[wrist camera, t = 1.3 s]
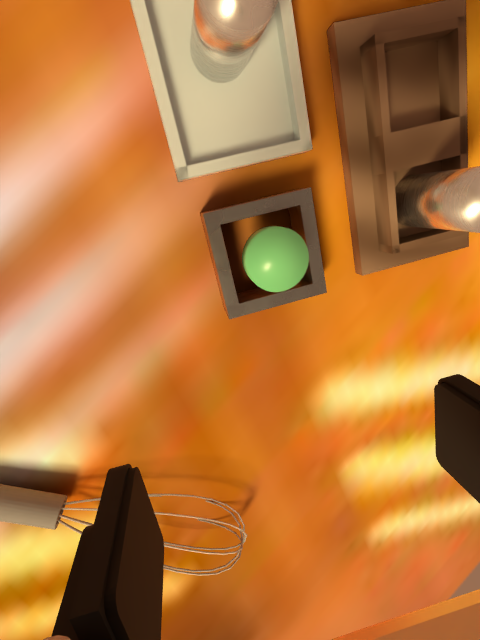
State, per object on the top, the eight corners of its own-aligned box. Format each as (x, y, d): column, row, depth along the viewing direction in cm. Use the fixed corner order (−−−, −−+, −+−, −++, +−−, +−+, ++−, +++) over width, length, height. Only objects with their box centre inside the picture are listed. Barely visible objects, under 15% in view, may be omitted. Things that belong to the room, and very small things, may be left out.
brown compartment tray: (326, 30, 26) (347, 7, 23) (453, 5, 27) (489, -21, 24) (355, 273, 32) (375, 280, 29) (458, 245, 33) (487, 249, 30)
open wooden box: (199, 213, 28) (202, 213, 25) (297, 189, 29) (310, 187, 26) (224, 308, 31) (229, 319, 28) (312, 284, 31) (326, 292, 28)
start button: (230, 231, 27) (239, 235, 23) (285, 218, 28) (303, 219, 24) (243, 286, 29) (253, 299, 25) (295, 272, 29) (313, 282, 25)
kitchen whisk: (-149, 434, 29) (-232, 494, 23) (247, 487, 37) (262, 541, 31) (-152, 496, 30) (-232, 568, 24) (229, 534, 39) (240, 593, 33)
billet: (182, 19, 24) (186, -68, 16) (241, 8, 24) (272, -83, 16) (198, 88, 25) (209, 37, 17) (253, 76, 25) (288, 22, 18)
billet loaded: (388, 181, 29) (465, 172, 21) (433, 169, 29) (525, 156, 21) (392, 231, 30) (465, 240, 22) (436, 220, 30) (523, 224, 23)
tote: (109, -75, 22) (104, -98, 20) (266, -100, 23) (273, -125, 21) (178, 182, 27) (178, 180, 25) (304, 152, 28) (312, 149, 26)
